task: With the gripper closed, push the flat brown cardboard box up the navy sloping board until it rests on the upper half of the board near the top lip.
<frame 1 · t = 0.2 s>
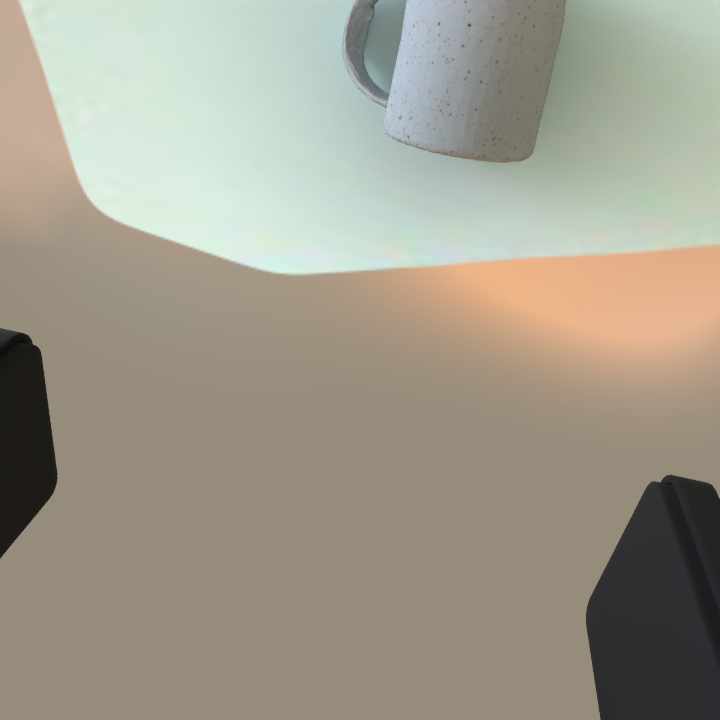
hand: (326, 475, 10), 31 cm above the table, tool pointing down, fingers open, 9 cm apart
ceramic mug: (448, 54, 35), on the table
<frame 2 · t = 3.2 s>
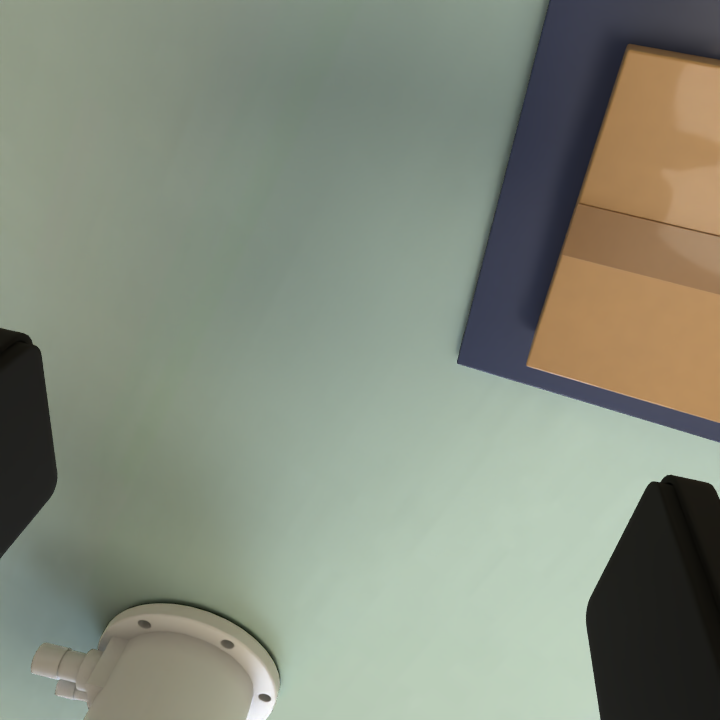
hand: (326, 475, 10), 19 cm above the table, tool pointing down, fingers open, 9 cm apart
cardboard box: (687, 231, 23), point 2 cm above the table, tilted 10°, touching sloping board
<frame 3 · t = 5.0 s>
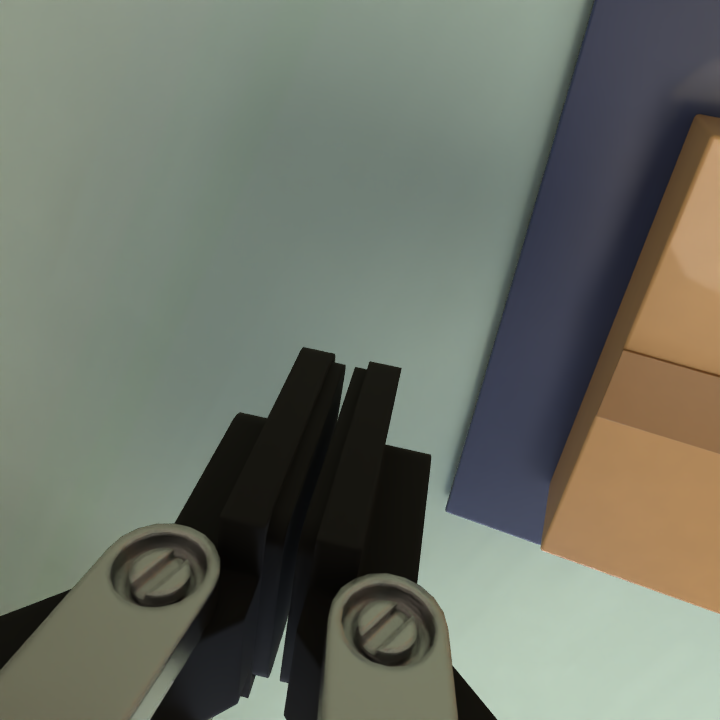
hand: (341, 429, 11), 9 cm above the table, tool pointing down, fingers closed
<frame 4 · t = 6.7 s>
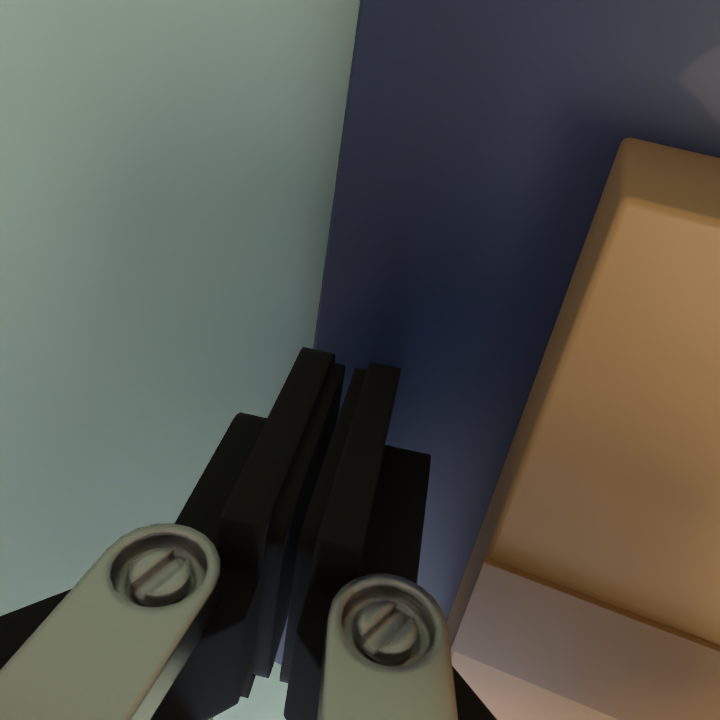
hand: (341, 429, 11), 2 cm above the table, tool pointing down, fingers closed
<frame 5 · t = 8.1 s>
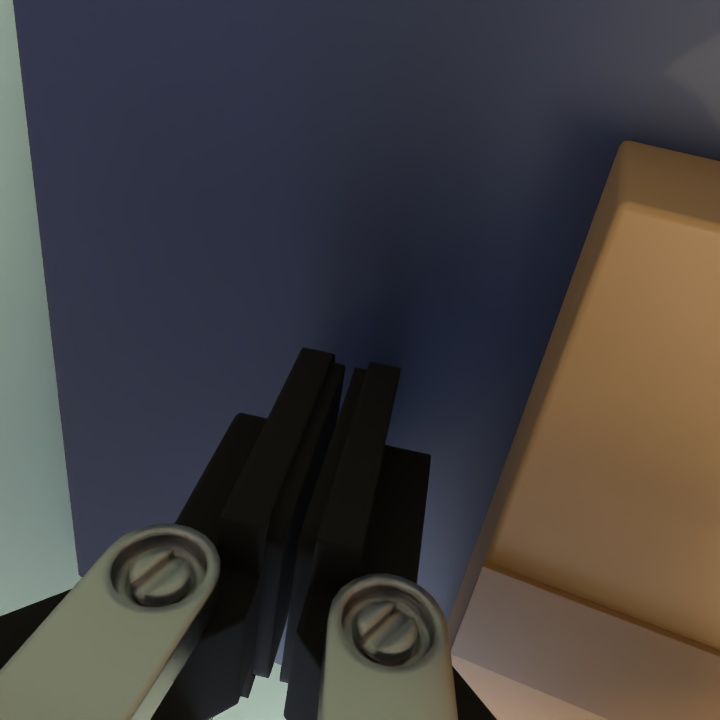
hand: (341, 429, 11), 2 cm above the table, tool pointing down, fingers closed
sloping board: (603, 409, 13), on the table
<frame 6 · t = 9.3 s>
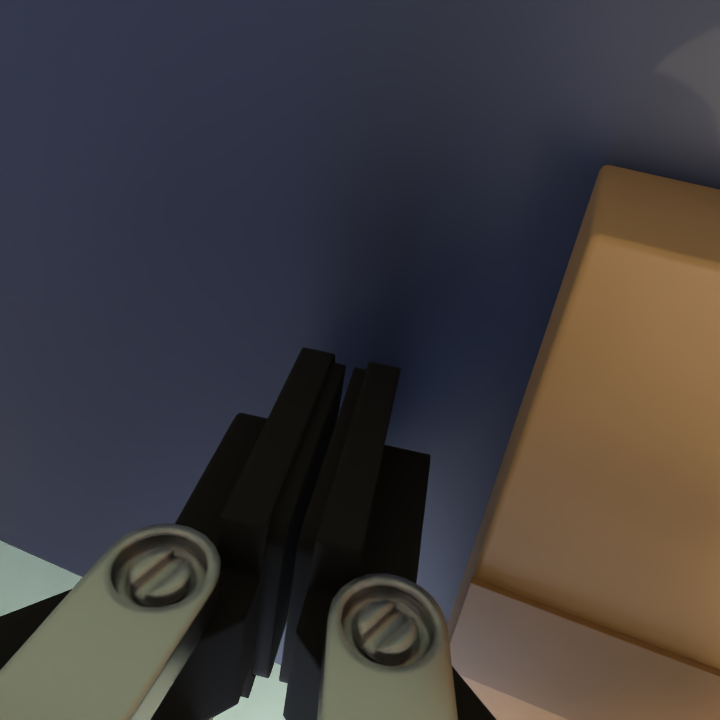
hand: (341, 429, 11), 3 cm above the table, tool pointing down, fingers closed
sloping board: (391, 343, 14), on the table
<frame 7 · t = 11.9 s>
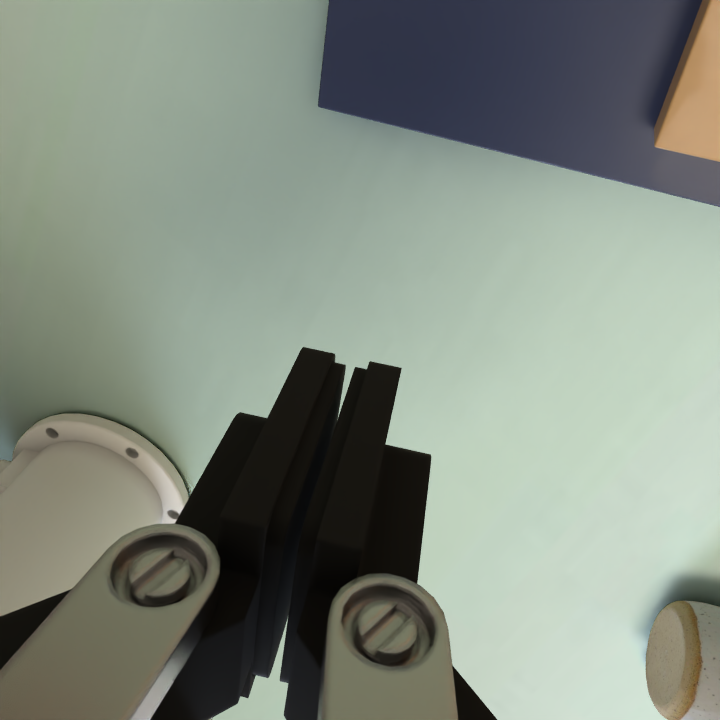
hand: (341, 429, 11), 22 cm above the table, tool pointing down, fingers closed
ceramic mug: (711, 632, 43), on the table
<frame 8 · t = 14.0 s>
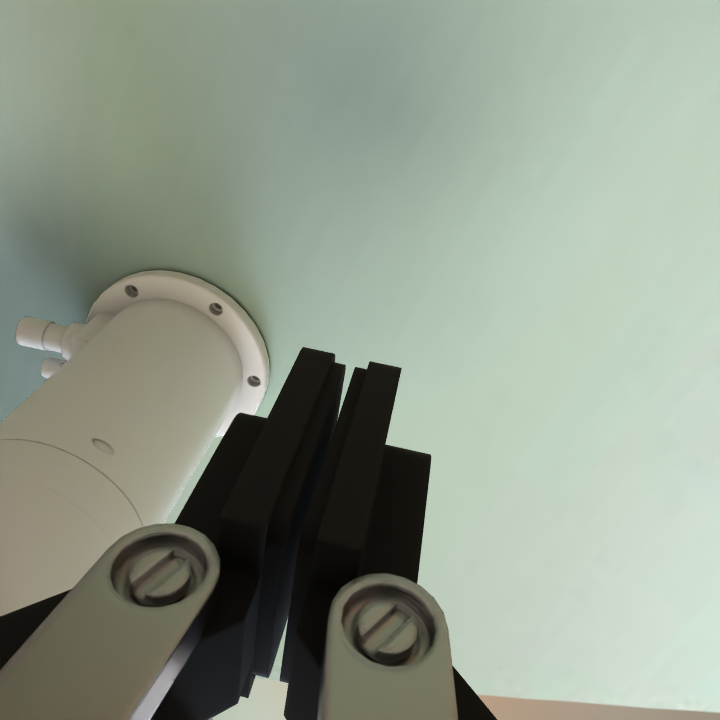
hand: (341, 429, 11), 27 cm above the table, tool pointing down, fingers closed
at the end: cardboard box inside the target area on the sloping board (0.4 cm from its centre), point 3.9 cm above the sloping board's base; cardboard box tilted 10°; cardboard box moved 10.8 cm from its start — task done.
